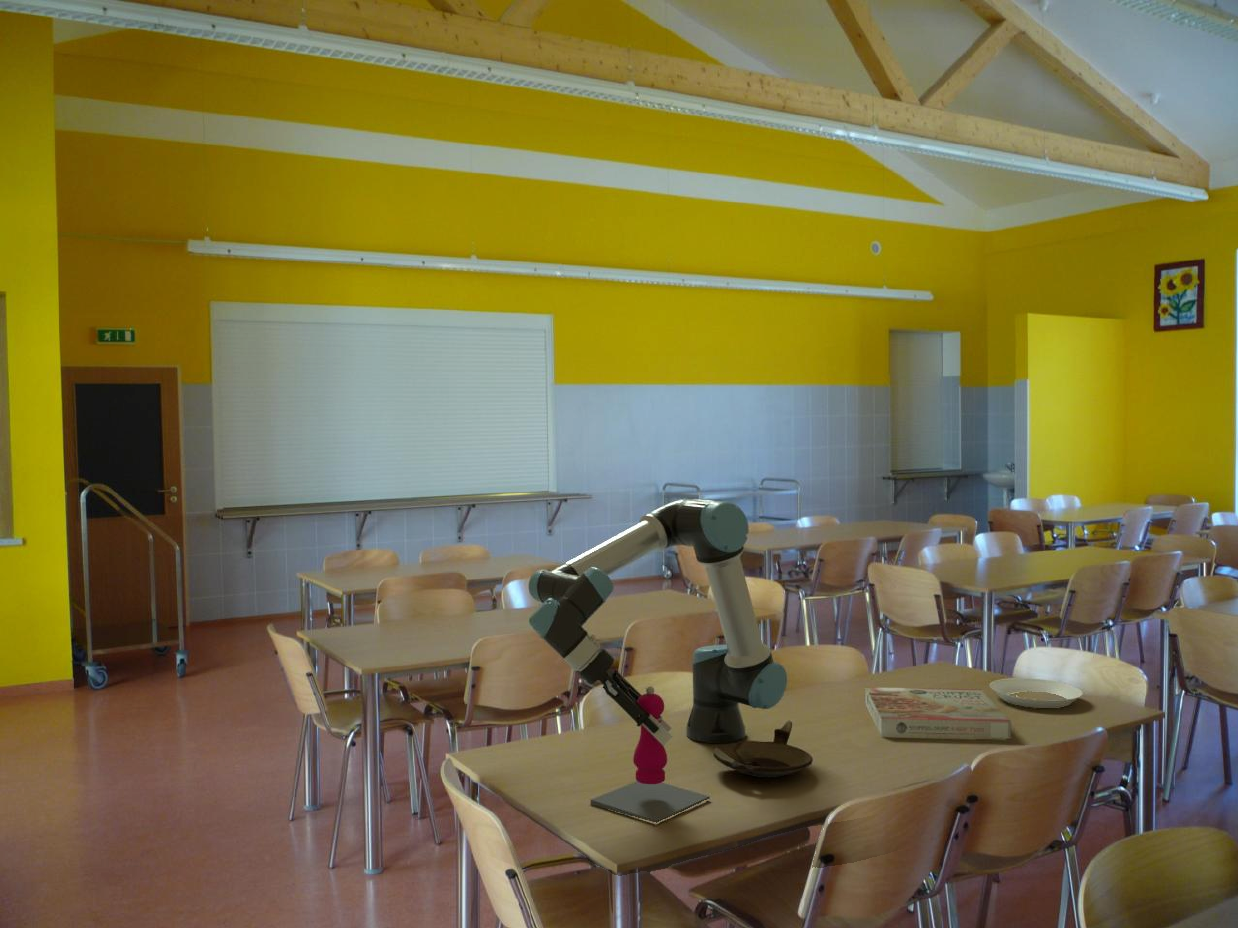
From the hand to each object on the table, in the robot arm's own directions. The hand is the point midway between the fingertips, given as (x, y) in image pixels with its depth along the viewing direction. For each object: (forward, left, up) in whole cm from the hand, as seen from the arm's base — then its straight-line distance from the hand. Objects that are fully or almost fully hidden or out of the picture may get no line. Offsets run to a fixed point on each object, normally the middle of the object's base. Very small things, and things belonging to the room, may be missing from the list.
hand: (667, 736), depth 225 cm
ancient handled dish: (+5, +32, -15) cm, 35 cm away
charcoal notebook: (-3, -2, -14) cm, 15 cm away
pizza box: (+16, +94, -15) cm, 97 cm away
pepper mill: (-3, -2, -10) cm, 10 cm away
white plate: (+29, +133, -15) cm, 137 cm away
